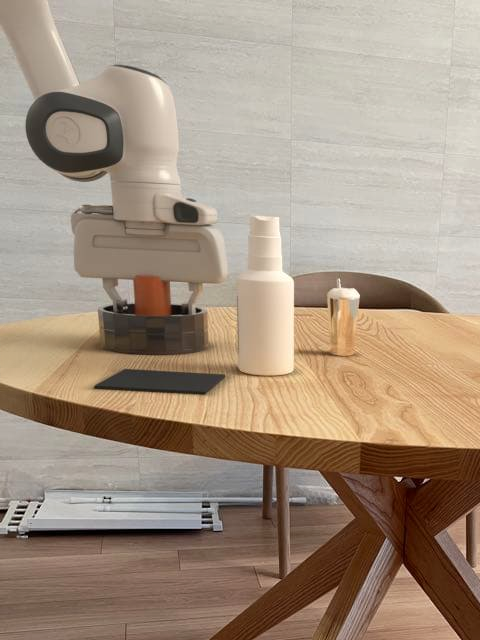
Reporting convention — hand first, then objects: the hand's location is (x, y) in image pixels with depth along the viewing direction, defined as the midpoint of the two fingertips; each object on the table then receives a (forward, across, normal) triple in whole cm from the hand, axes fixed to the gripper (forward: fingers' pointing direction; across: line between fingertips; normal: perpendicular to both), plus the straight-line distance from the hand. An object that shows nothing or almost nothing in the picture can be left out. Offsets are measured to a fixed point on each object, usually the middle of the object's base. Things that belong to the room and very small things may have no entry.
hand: (155, 314), depth 114 cm
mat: (+4, +8, -24) cm, 26 cm away
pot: (+4, 0, 0) cm, 4 cm away
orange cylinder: (+4, 0, 0) cm, 4 cm away
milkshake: (+5, +26, +2) cm, 26 cm away
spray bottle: (+4, +18, -14) cm, 23 cm away
